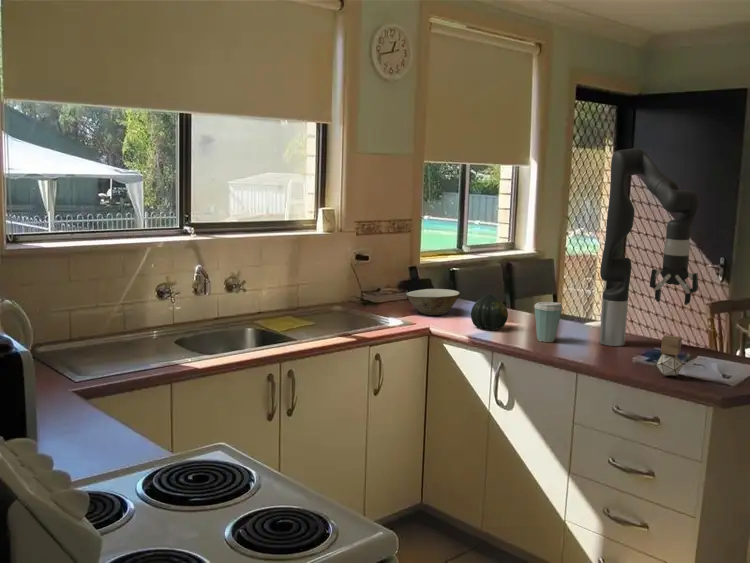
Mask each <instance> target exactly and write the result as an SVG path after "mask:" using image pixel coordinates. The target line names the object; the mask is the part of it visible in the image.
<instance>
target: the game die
mask: <svg viewBox="0 0 750 563" xmlns="http://www.w3.org/2000/svg"><path fill="white" fill-rule="evenodd" d="M660 354H661V355H660V357H659V359H658V361H657V363H656V364H655V363H654V364H653V366H656V367H657V369H658V370H659V371H660V373H661V374H662V376H661V377H662V378H664V377H665V376H676V378H680V377H679V375H678V374H679V373H680V371H681V370H682V367H683V366H685V365H686V363H685V362H684V363H683V362H682V361H681V359H680V357H679V355H670V354H664V353H661V352H660Z"/></svg>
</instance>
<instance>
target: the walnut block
mask: <svg viewBox="0 0 750 563" xmlns="http://www.w3.org/2000/svg"><path fill="white" fill-rule="evenodd" d="M682 340H683V338H682V337H681V336H674V335H667V334H665V335H664V336H663V337H661V346H660V354H661V353H663V354H670V355H677V356H679V355H680V353H681V352H682V350H681V349H682Z"/></svg>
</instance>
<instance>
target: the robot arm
mask: <svg viewBox="0 0 750 563" xmlns="http://www.w3.org/2000/svg"><path fill="white" fill-rule="evenodd" d="M635 175H641V176H644V177H645V186H646V188H647V189H648V191H649V192H650V193H651V194H653V195H654V196H655V197H656V198H658V200H659V202H660V204H661V205H662V207H663V209H664V210H665V211H667V212H670V213H675V214H677V213H678V214H679V215H678V217H677V218H675V219H671V220H669V221H668V222H667V225H666V231H665V232H666V233H665V241H664V246H663V258H662V269H661V270H660V269H657V268H653V269H652V270H651V272H650V279H649V287H650V288H652V289H654V292H655V293H654V300H656V302H658V303H660V302H661V297H662V296H661V295H662V287H663V286H664V285H665V284H667V285H675V286H681V288H682V289H683V290H684V291H685V294H684V303H683V304H684V305H685V306H688V305H689V304H690V303H691V300H692V299H691V298H692V294H693V293H696V292H697V291H698V290H699V273H698V272H692V273H691V272H689V262H690V261H689V259H690V251H691V250H690V249H691V247H690V246H691V245H690V241H691V240H690V239H691V227H692V226H693V222H694V220H695V216H696V214H697V212H698V208H699V205H700V198H699V195H698V194H697V192H696V191H694V190H691V189H688V190H687V189H684V190H683V189H679V186H678V184H677V183H676V182H675V181H674V180H673V179H672V178H670V177H669V176H668V175H666V174H665V173H664V172H663V171H661V169H659V167H658V166H657V165H656V164H655V162H654V161H653V160H652V159H651V158H650V156H649V155H648V154H647V153H646V152H645V151H644V149H641V148H638V147H637V148H636V147H634V148H626V149H619V150H616V151H615V152H614V153H613V154H612V158H611V162H610V188H609V189H610V190H609V200H608V208H607V215H606V217H607V218H606V226H605V239H604V245H603V252H602V257H601V264H600V270H599V272H600V273H599V274H600V279H601V280H602V281H603V282H604V281H605V282H615V283H619V284H617V286H614V287H612V288H609V289H605V290H604V291H603V292H602V302H601V316H600V329H599V343H600V344H601V345H605V346H611V347H622V346H625V344H626V331H627V320H628V304H629V292H630V281H631V274H632V261H631V258H629V257H619V256H613V255H614V252H615V250H616V249H617V248H618V246H619V244H621V242H623V240H624V239H625V238H627V236H629V234H630V233H631V231H632V229H633V226H634V220H635V208H634V207H635V206H634V205H633V202H632V201H631V199H630V197H629V195H628V194H627V192H626V188H625V184H626V183H625V182H626V177H629V176H635ZM659 275H661V277H662V280H661V281H660V282H659V283H658V284H656V283H657V282H656V281H657V277H659ZM688 277H689V278H690V281H692V285H691V286H692V288H691V287H690V285H689V283H688V282H687V280H686V279H688Z"/></svg>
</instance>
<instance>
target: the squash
mask: <svg viewBox="0 0 750 563" xmlns="http://www.w3.org/2000/svg"><path fill="white" fill-rule="evenodd" d="M508 317H509V312H508V309H507V306H506V305H505V304H504V302H502V301H501V300H500V299H499V298H498V297H496V296H495V294H493V293H492V292H490V293H487V294H485V295H484V296H482V297H480V298H479V299H478V300H477V301H475V303H474V304H473V306H472V308H471V310H470V318H471V322H472V324H473V325H474V327H475V328H478V329H486V328H487V329H489V330H491V331H496V330H499V329H502V328H503V327H505V325H506V323H507V322H508V319H509V318H508Z"/></svg>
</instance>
